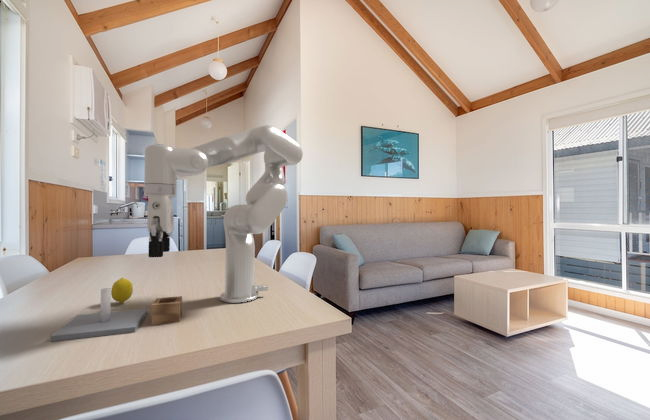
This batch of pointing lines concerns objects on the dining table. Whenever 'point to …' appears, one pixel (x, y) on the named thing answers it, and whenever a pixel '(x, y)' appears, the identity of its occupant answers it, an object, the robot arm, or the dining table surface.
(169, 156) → the robot arm
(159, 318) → the brown wooden hollow block
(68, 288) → the dining table surface
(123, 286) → the lemon
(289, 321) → the dining table surface
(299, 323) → the dining table surface
